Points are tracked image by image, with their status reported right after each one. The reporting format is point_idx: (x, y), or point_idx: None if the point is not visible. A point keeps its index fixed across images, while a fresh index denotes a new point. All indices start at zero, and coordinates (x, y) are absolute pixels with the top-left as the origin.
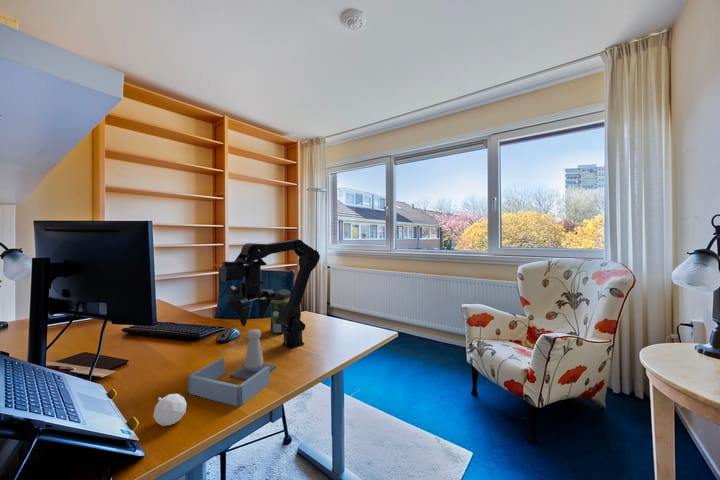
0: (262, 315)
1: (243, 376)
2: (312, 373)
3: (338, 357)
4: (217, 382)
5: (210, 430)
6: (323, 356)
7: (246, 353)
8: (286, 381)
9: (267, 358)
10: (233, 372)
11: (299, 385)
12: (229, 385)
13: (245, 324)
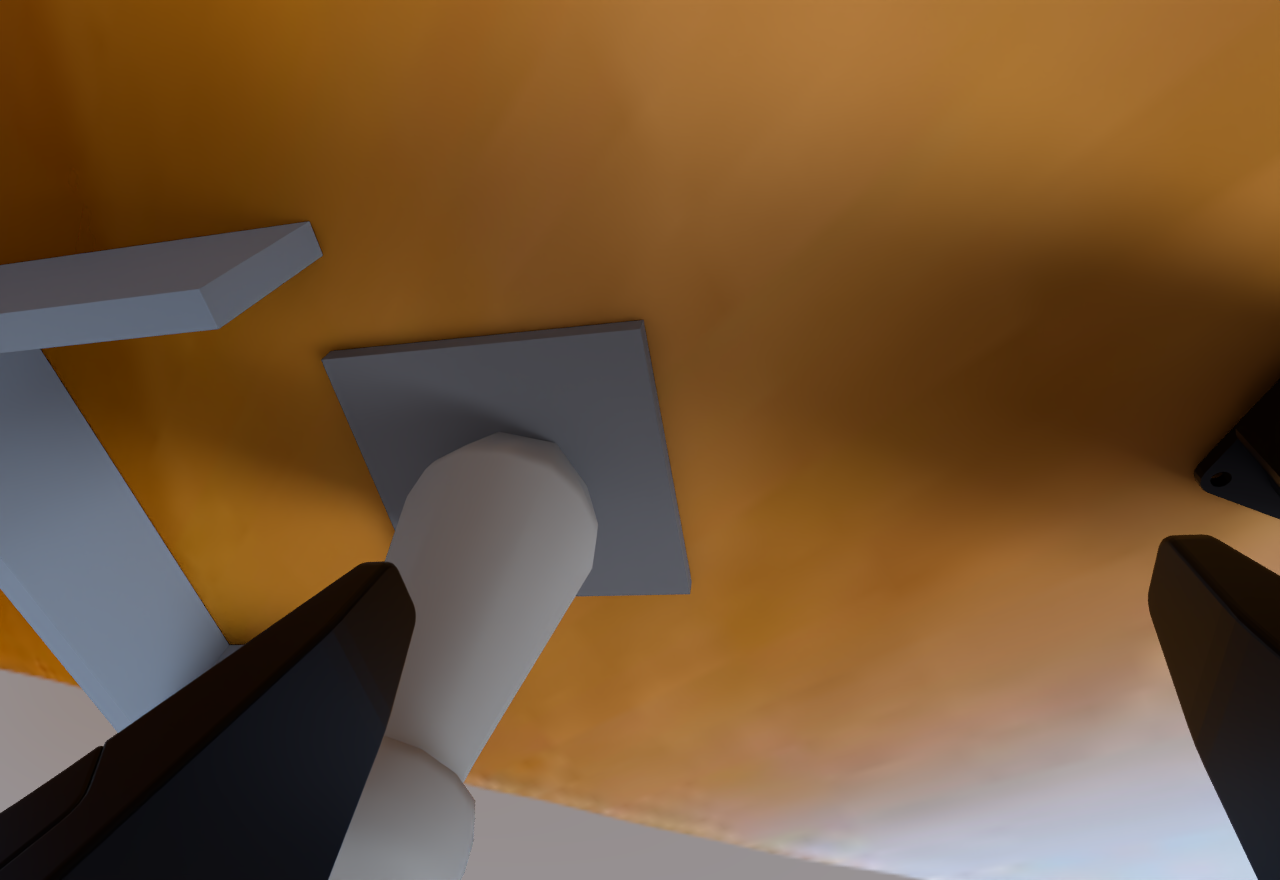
0: (1187, 710)
1: (393, 484)
2: (747, 806)
3: (1077, 865)
4: (33, 620)
5: (46, 659)
6: (1064, 786)
7: (393, 562)
8: (569, 729)
9: (825, 399)
10: (367, 357)
11: (578, 797)
12: (96, 703)
13: (393, 662)
